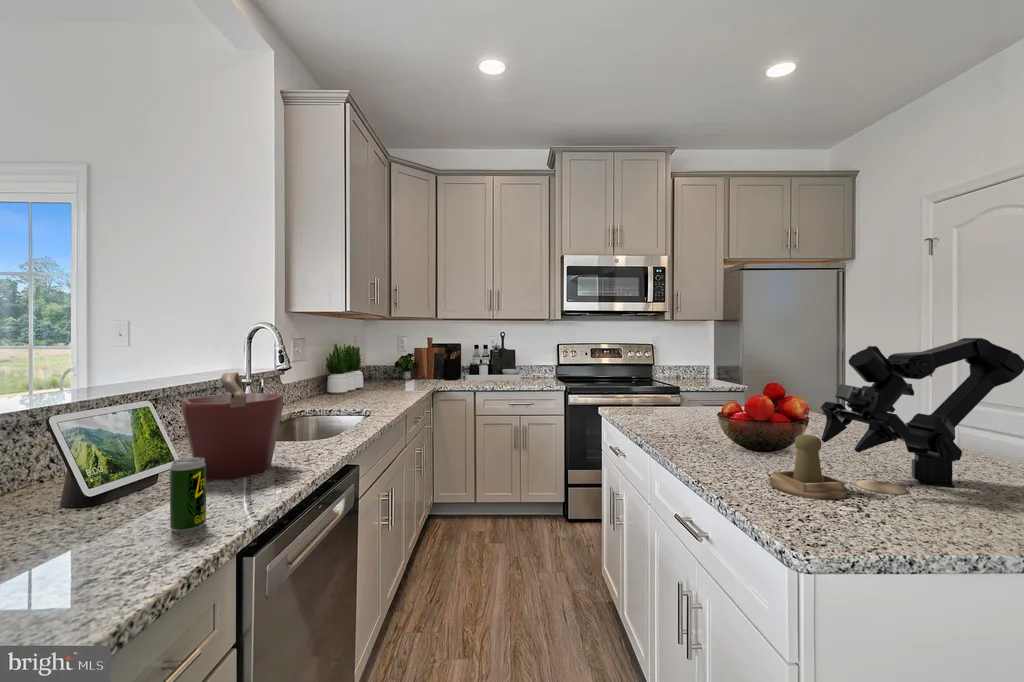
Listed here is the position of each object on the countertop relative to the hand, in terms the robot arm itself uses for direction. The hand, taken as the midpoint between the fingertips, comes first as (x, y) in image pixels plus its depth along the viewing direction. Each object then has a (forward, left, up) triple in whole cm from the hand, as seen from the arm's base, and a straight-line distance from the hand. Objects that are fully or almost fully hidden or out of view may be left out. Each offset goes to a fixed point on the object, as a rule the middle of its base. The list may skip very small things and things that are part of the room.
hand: (838, 445), depth 111 cm
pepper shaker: (+6, +5, -9) cm, 12 cm away
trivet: (+7, +5, -9) cm, 12 cm away
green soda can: (+108, +82, -10) cm, 136 cm away
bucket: (+136, +56, -10) cm, 147 cm away
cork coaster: (-8, -3, -9) cm, 13 cm away
